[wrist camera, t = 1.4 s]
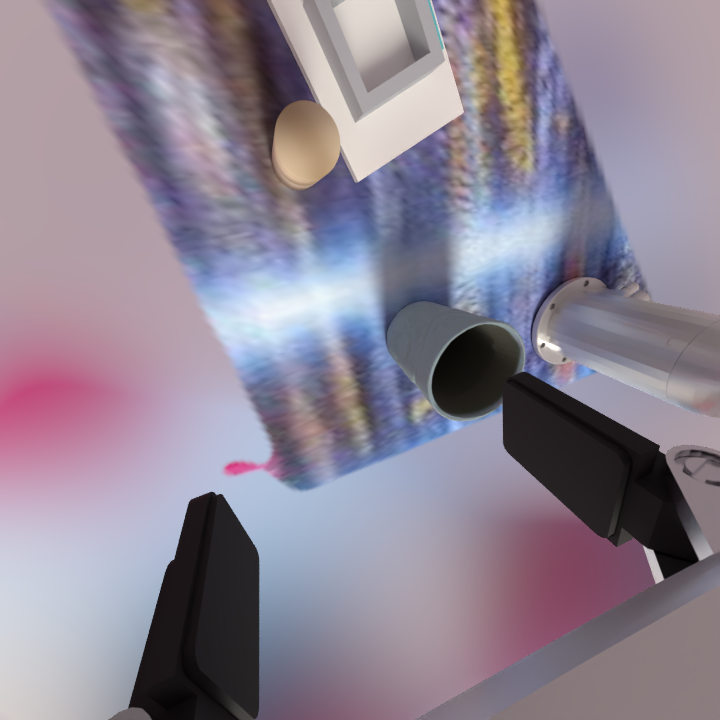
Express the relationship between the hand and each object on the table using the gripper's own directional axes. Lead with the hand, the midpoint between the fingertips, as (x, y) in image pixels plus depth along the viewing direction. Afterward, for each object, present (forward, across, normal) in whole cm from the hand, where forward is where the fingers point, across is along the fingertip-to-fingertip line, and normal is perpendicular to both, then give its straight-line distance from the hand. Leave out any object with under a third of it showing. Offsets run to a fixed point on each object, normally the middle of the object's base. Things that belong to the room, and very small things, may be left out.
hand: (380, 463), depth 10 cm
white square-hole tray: (+26, -12, -18) cm, 34 cm away
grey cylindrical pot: (+26, -13, +9) cm, 30 cm away
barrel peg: (+26, -4, -12) cm, 28 cm away
